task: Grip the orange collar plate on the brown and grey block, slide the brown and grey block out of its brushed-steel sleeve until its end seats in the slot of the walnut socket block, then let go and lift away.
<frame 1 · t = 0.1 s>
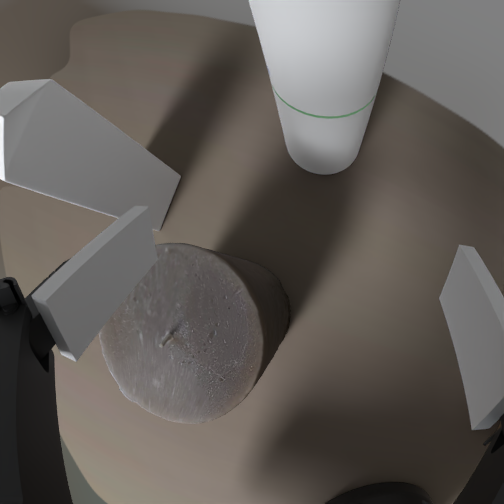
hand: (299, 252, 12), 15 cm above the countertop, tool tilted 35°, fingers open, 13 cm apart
milk: (148, 196, 31), on the countertop
cylindrical container: (322, 140, 28), on the countertop
pillar candle: (236, 312, 28), on the countertop
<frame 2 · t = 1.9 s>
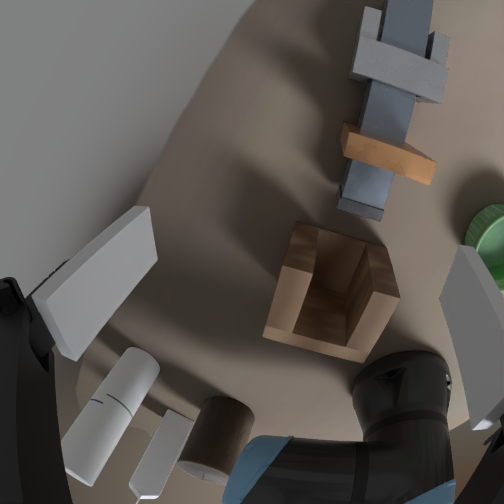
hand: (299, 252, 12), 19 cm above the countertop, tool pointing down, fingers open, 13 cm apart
sleeve: (384, 89, 24), on the countertop
brown and grey block: (392, 99, 20), point 5 cm above the countertop, slide at 0.0 cm
milk: (178, 419, 59), on the countertop
socket: (330, 290, 29), on the countertop
ramekin: (492, 236, 27), on the countertop
cylindrical container: (142, 361, 51), on the countertop
pillar candle: (229, 411, 52), on the countertop
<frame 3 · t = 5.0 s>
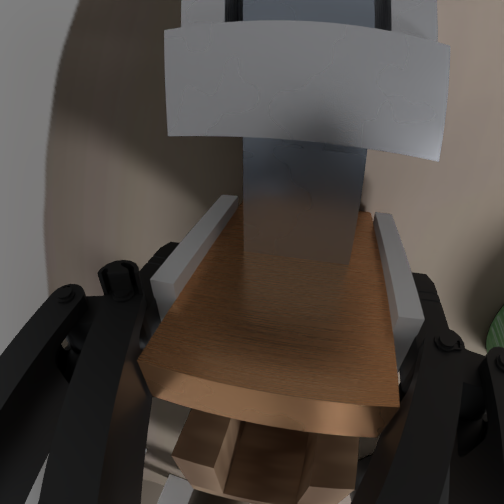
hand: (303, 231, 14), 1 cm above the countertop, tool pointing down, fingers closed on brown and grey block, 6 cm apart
sleeve: (313, 114, 12), on the countertop
brown and grey block: (302, 167, 9), point 5 cm above the countertop, slide at 0.0 cm, touching gripper
milk: (183, 480, 50), on the countertop
socket: (273, 437, 19), on the countertop
pillar candle: (226, 480, 42), on the countertop
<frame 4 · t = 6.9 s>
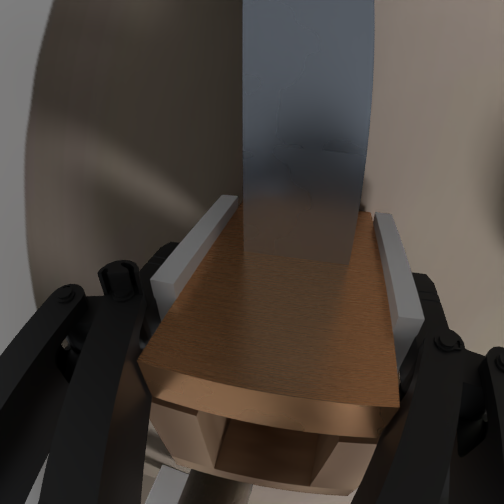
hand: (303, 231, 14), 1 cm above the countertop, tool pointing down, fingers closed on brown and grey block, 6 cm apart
brown and grey block: (302, 167, 9), point 5 cm above the countertop, slide at 6.5 cm, touching gripper
milk: (177, 472, 47), on the countertop
socket: (281, 390, 15), on the countertop
pillar candle: (224, 470, 39), on the countertop
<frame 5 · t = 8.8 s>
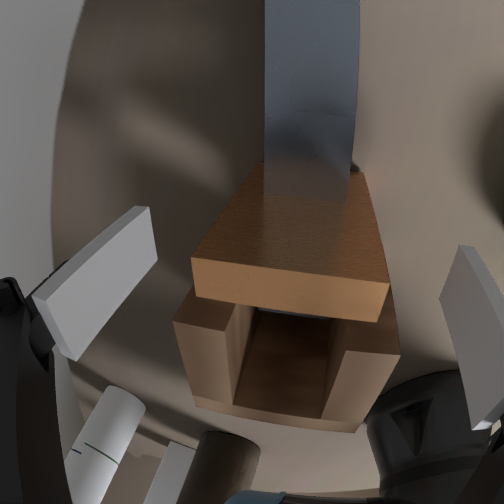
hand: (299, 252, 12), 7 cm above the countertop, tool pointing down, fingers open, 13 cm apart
brown and grey block: (308, 126, 11), point 5 cm above the countertop, slide at 6.5 cm
milk: (185, 449, 51), on the countertop
socket: (291, 329, 18), on the countertop
cylindrical container: (126, 398, 43), on the countertop
pillar candle: (231, 443, 43), on the countertop
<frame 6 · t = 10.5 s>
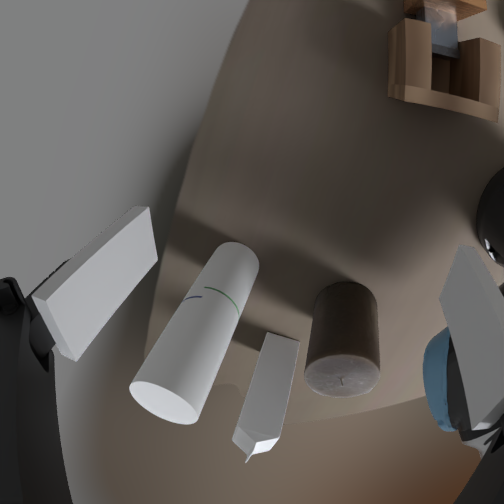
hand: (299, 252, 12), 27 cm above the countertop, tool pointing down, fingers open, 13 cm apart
milk: (279, 346, 54), on the countertop
socket: (441, 70, 23), on the countertop
cylindrical container: (236, 262, 47), on the countertop
pillar candle: (345, 306, 46), on the countertop
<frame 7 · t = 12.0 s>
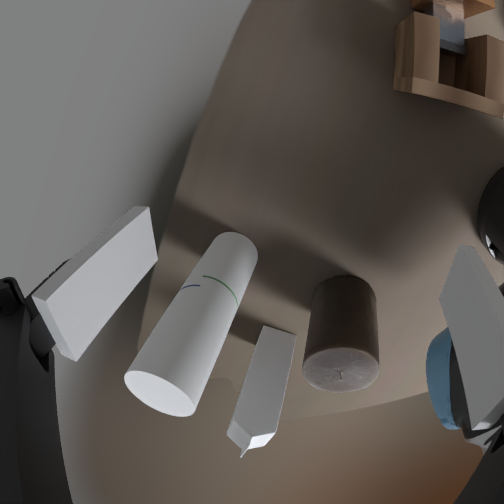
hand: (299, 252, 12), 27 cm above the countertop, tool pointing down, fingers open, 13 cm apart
milk: (275, 339, 54), on the countertop
socket: (447, 65, 22), on the countertop
cylindrical container: (234, 252, 46), on the countertop
pillar candle: (343, 300, 46), on the countertop
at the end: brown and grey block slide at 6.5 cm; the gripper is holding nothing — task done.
